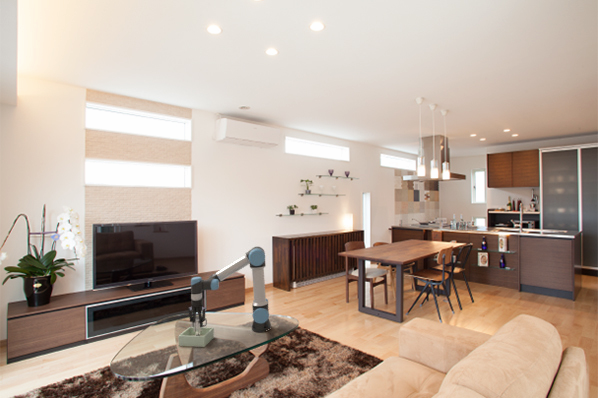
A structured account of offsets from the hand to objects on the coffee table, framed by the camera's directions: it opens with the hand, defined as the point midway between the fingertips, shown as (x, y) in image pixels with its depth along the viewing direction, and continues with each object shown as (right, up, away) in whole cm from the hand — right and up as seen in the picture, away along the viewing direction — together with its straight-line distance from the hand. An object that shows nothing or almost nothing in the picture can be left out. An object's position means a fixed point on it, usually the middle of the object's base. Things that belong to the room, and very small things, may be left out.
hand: (197, 331), depth 240 cm
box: (0, -7, -2) cm, 7 cm away
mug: (-4, -7, +17) cm, 19 cm away
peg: (0, -4, 0) cm, 4 cm away
